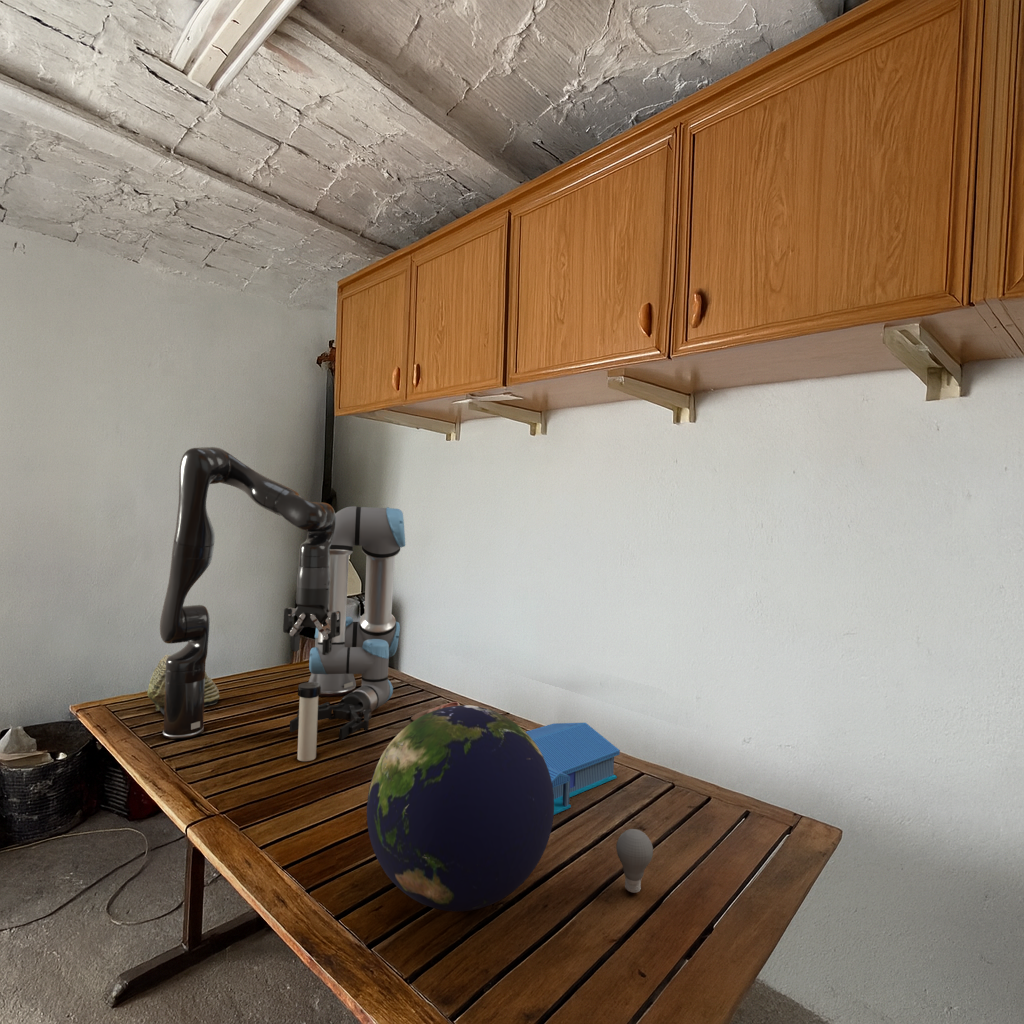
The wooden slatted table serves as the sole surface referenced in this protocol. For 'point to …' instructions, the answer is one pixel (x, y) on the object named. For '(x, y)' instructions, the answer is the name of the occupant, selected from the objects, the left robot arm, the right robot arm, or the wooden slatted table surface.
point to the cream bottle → (307, 728)
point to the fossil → (158, 687)
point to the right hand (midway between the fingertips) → (315, 730)
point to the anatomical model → (434, 710)
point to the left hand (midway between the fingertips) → (310, 652)
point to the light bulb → (634, 857)
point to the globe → (460, 808)
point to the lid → (309, 689)
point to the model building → (574, 759)
